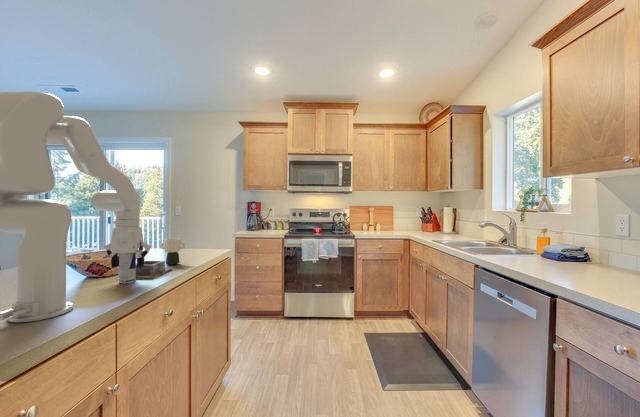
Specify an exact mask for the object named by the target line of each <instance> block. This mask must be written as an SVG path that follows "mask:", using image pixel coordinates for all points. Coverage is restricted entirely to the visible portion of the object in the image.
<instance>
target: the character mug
mask: <svg viewBox="0 0 640 417" xmlns="http://www.w3.org/2000/svg"><path fill="white" fill-rule="evenodd" d="M181 241H182V240H181V238H178V237H177V238H174V237H173V238H172V237H171V238H165V239H164V242H161V243H160V249H161V250H165V253H167V254H166V258H165V259H166V260H165V265H177V264H179V263H180V255H179V252H181V249H182V250H184V249H185V244H186V243H185V242H184V241H183V242H181Z"/></svg>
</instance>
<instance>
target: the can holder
mask: <svg viewBox="0 0 640 417" xmlns="http://www.w3.org/2000/svg"><path fill="white" fill-rule="evenodd" d="M171 271H173V267H166V260H144V266H143V267H141V268H137V262H136V280H153V279H156V278H157V277H160V276H163V275H165V274H166V273H167V274H168V273H169V272H171Z"/></svg>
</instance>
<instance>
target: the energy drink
mask: <svg viewBox="0 0 640 417" xmlns="http://www.w3.org/2000/svg"><path fill="white" fill-rule="evenodd" d="M118 256H119V266H118V283H119V284H120V283H121V285H123V284H124V285H126V284H132V283H134V282H136V280H137V279H136V263H137V257H136V256H137V255H136V253H119V254H118Z"/></svg>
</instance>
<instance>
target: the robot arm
mask: <svg viewBox="0 0 640 417" xmlns="http://www.w3.org/2000/svg"><path fill="white" fill-rule="evenodd" d="M64 113H65V107H64V104H63V102H62V100H61V99H60V98H59V97H57V96H55V95H54V94H51V93H47V92H43V91H41V92H40V91H1V92H0V232H2V233H6V234H21V235H22V234H24V235H23V238H22V239H21V241H20V243H19V244H18V246H17V250H16V302H13V303H12V306H11V307H10V308H9V309H6V310H3V311H0V321H2V320H5V319H7V321H8V322H11V323H30V322H36V321H37V322H38V321H42V320H47V319H51V318H55V317H57V316H60V315H61V316H62V315H64V314H66V313H68V312H70V311H71V310H73V309H74V303H73V302H71V301H67V243H68V242H67V240H68V234H69V230H70V227H71V224H72V211H71V209H70V208H69V207H68V206H67V205H66V204H65V203H63V202H61V201H57V200H53V199H47V198H45V199H43V198H26V196H38V195H39V196H40V195H45V194H48V193H50V192H51V191H53V190H54V188H55V186H56V178H55V174H54V170H53V166H52V162H51V159H50V155H49V150H48V146H47V145H63V146H64V148H65V150H66V151H67V153H68V156H70V158H71V160H72V162H73V163H74V165H75V166H74V167H75V168H76V169H77V170H78V171H79V172H80V173H83V174H85V175H88V176H89V177H93V178H95V179H98V180H101V181H102V182H103V183H106V184H107V185H109V186H110V187H111V188H112V189H113V190H100V191H97V192H95V193H94V194H92V196H91V197H90V198H91V199H90V204H91V205H92V207H93V208H95V209H96V210H98V211H101V212H115V220H113V221H112V222H113V224H114V225H115V227H113V230H112V233H111V238H110V239H111V240H110V242H109V243H108V244H105V245H104V246H103V247H104V249H105V251H106V254H107V255H108V256H109V258H111V260H110V262H111V268H112V269H114V268H117V267H118V268H119V254H120V253H136V256H137V257H136V263H137V268H141V267H143V266H144V261H145V257H146V256H147V255H148V253H149V252H150V250H151V248H152V246H151V245H150V244H148V243H146V242H144V235H143V230H142V227H141V226H140V213H141V212H140V209H141V208H140V207H141V206H140V202H141V201H140V197H141V196H140V195H139V193H137V191H136V189H135V187H134V184H133V182H132V180H131V178H129V177H128V176H127V175H126V174H125V173H123V171H121V170H120V169H119V168H118V167H116V166H115V165H113V164H112V163H111V162H109V161H108V159H107V157H106V155H105V153H104V151H103V148H102V146H101V144H100V142H99V141H98V138H97V136H96V134H95V132H94V130H93V129H92V127H91V125H90V123H89V122H88V121H86V120H85V119H84V118H82V117H78V116H69V115H67V116H66V115H65V114H64Z"/></svg>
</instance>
